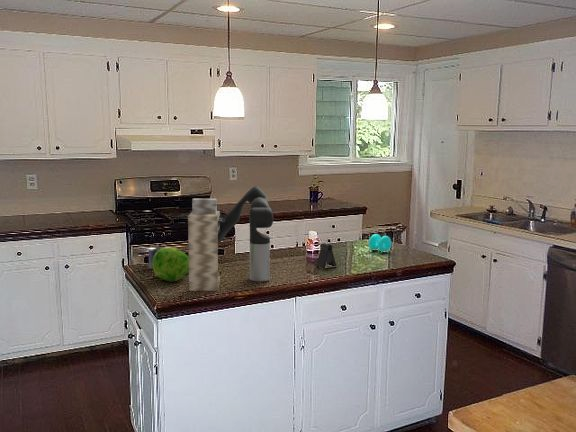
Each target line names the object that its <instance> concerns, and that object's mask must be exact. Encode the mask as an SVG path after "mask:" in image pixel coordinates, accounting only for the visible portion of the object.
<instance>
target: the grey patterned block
mask: <svg viewBox="0 0 576 432" xmlns="http://www.w3.org/2000/svg"><path fill="white" fill-rule="evenodd" d="M217 200H218V199H217V198H200V197H199V198H195V197H194V198H192V201H191V203H192V204H191V205H192V207H191V208H192V209H191V210H192V211H191V212H192V214H216V213H217V211H218V209H217V205H218V203H217V202H218V201H217Z"/></svg>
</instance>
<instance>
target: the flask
mask: <svg viewBox="0 0 576 432" xmlns="http://www.w3.org/2000/svg"><path fill="white" fill-rule="evenodd" d="M163 248H167V247H165V246H159V244H156V245H155V248H152V249H148V269H149V270H153V264H152V262H153V256H154V255H155V253H156V252H157V251H158V250H160V249H163Z"/></svg>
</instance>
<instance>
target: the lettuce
mask: <svg viewBox="0 0 576 432" xmlns="http://www.w3.org/2000/svg"><path fill="white" fill-rule="evenodd" d="M152 264H153V269H152V270H153V272H154V274H155V276H156V277H158V278H159V279H161V280H163V281H166V282H178V281H179V280H180V279H182V278H183V277H184V276H186V275H187V274H189V255H188V254H186V253H185V252H184V251H182V250H180V249H178V248H176V247H166V248H163V249H160V250H158V251H157V252H156V253H155V255H154V256H153V262H152Z"/></svg>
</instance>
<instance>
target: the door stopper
mask: <svg viewBox="0 0 576 432" xmlns="http://www.w3.org/2000/svg"><path fill="white" fill-rule="evenodd" d="M327 264H329V265H332V266H337V263H336V259H335V256H334V252H333V245H332V244H329V243H326V242H322V243H321V244H320V251H319V254H318V257H317V260H316V264H315V267H316V266H318V267H321V268H325V266H326V265H327ZM318 267H317V268H318Z"/></svg>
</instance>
